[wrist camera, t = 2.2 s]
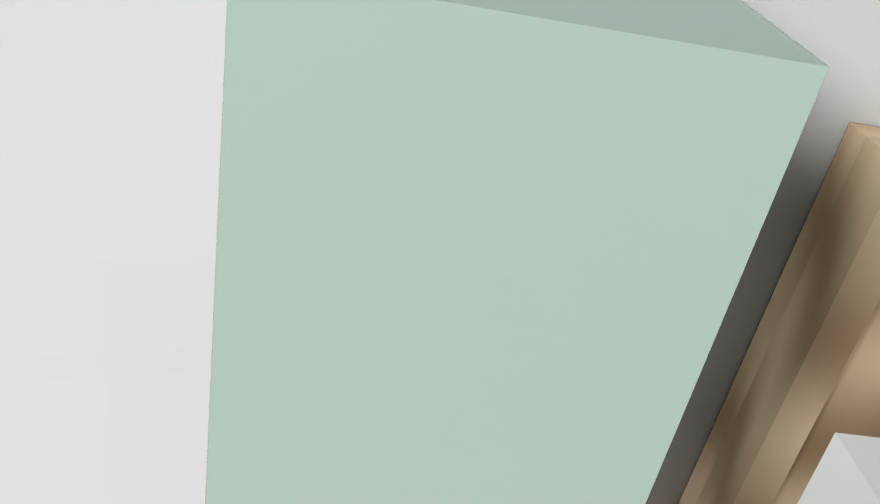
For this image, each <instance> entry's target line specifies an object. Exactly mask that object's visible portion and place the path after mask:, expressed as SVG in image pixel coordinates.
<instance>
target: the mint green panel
mask: <svg viewBox="0 0 880 504" xmlns="http://www.w3.org/2000/svg"><path fill="white" fill-rule="evenodd" d="M828 69H829V66H827V65H826V64H825V63H823V62H822V61H821V60H819V59H818V58H817V57H815V56H814V55H813V54H811V53H810V52H809V51H807V50H806V49H805V48H803V47H802V46H801V45H799V44H798V43H797V42H796V41H794V40H793V39H792V38H790V37H789V36H788V35H786V34H785V33H784V32H782V31H781V30H780V29H778V28H777V27H776V26H774V25H773V24H772V23H770V22H769V21H768V20H766V19H765V18H764V17H763V16H761V15H760V14H759V13H757V12H756V11H755V10H753V9H752V8H751V7H749V6H748V5H747V4H745V3H744V2H743V1H741V0H227V13H226V36H225V59H224V82H223V105H222V128H221V151H220V174H219V197H218V220H217V243H216V266H215V289H214V312H213V335H212V358H211V381H210V404H209V427H208V450H207V473H206V496H205V504H646V501H647V499H648V497H649V494H650V492H651V489H652V487H653V485H654V482H655V480H656V478H657V475H658V473H659V470H660V468H661V466H662V463H663V461H664V459H665V456H666V454H667V451H668V449H669V447H670V444H671V442H672V440H673V437H674V435H675V432H676V430H677V428H678V425H679V423H680V421H681V418H682V416H683V413H684V411H685V409H686V406H687V404H688V401H689V399H690V397H691V394H692V392H693V390H694V387H695V385H696V382H697V380H698V378H699V375H700V373H701V371H702V368H703V366H704V363H705V361H706V359H707V356H708V354H709V352H710V349H711V347H712V344H713V342H714V340H715V337H716V335H717V333H718V330H719V328H720V325H721V323H722V321H723V318H724V316H725V314H726V311H727V309H728V306H729V304H730V302H731V299H732V297H733V295H734V292H735V290H736V287H737V285H738V283H739V280H740V278H741V276H742V273H743V271H744V268H745V266H746V264H747V261H748V259H749V257H750V254H751V252H752V249H753V247H754V245H755V242H756V240H757V238H758V235H759V233H760V230H761V228H762V226H763V223H764V221H765V219H766V216H767V214H768V211H769V209H770V207H771V204H772V202H773V199H774V197H775V195H776V192H777V190H778V188H779V185H780V183H781V180H782V178H783V176H784V173H785V171H786V169H787V166H788V164H789V161H790V159H791V157H792V154H793V152H794V150H795V147H796V145H797V142H798V140H799V138H800V135H801V133H802V131H803V128H804V126H805V123H806V121H807V119H808V116H809V114H810V112H811V109H812V107H813V104H814V102H815V100H816V97H817V95H818V93H819V90H820V88H821V85H822V83H823V81H824V78H825V76H826V74H827V71H828Z"/></svg>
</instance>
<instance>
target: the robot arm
mask: <svg viewBox="0 0 880 504" xmlns="http://www.w3.org/2000/svg"><path fill="white" fill-rule="evenodd" d="M798 504H880V438H878V437H869V436H861V435H852V434H844V433H836V432H835V434H834V436H833V438H832V439H831V441H830V443H829V445H828V447H827V449H826V451H825V453H824V455H823V456H822V458H821V460H820V462H819V464H818V466H817V468H816V470H815V471H814V473H813V475H812V477H811V479H810V481H809V483H808V485H807V487H806V488H805V490H804V492H803V494H802V496H801V498H800V500H799V502H798Z"/></svg>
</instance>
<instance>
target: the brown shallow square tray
mask: <svg viewBox="0 0 880 504" xmlns="http://www.w3.org/2000/svg"><path fill="white" fill-rule="evenodd" d="M835 432H836V433H844V434H852V435H861V436H869V437H878V438H880V127H876V126H870V125H864V124H858V123H852V122H850V123H849V125H848V127H847V129H846V132H845V134H844V136H843V138H842V141H841V143H840V145H839V147H838V149H837V152H836V154H835V156H834V158H833V161H832V163H831V165H830V167H829V170H828V172H827V174H826V176H825V178H824V181H823V183H822V185H821V187H820V190H819V192H818V194H817V196H816V198H815V201H814V203H813V205H812V207H811V210H810V212H809V214H808V216H807V219H806V221H805V223H804V225H803V227H802V230H801V232H800V234H799V236H798V239H797V241H796V243H795V245H794V247H793V250H792V252H791V254H790V256H789V259H788V261H787V263H786V265H785V267H784V270H783V272H782V274H781V276H780V279H779V281H778V283H777V285H776V288H775V290H774V292H773V294H772V296H771V299H770V301H769V303H768V305H767V308H766V310H765V312H764V314H763V316H762V319H761V321H760V323H759V325H758V328H757V330H756V332H755V334H754V337H753V339H752V341H751V343H750V345H749V348H748V350H747V352H746V354H745V357H744V359H743V361H742V363H741V365H740V368H739V370H738V372H737V374H736V377H735V379H734V381H733V383H732V385H731V388H730V390H729V392H728V394H727V397H726V399H725V401H724V403H723V406H722V408H721V410H720V412H719V414H718V417H717V419H716V421H715V423H714V426H713V428H712V430H711V432H710V434H709V437H708V439H707V441H706V443H705V446H704V448H703V450H702V452H701V454H700V457H699V459H698V461H697V463H696V466H695V468H694V470H693V472H692V475H691V477H690V479H689V481H688V483H687V486H686V488H685V490H684V492H683V495H682V497H681V499H680V501H679V503H678V504H798V502H799V500H800V498H801V496H802V494H803V492H804V490H805V488H806V487H807V485H808V483H809V481H810V479H811V477H812V475H813V473H814V471H815V470H816V468H817V466H818V464H819V462H820V460H821V458H822V456H823V455H824V453H825V451H826V449H827V447H828V445H829V443H830V441H831V439H832V438H833V436H834V434H835Z"/></svg>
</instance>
